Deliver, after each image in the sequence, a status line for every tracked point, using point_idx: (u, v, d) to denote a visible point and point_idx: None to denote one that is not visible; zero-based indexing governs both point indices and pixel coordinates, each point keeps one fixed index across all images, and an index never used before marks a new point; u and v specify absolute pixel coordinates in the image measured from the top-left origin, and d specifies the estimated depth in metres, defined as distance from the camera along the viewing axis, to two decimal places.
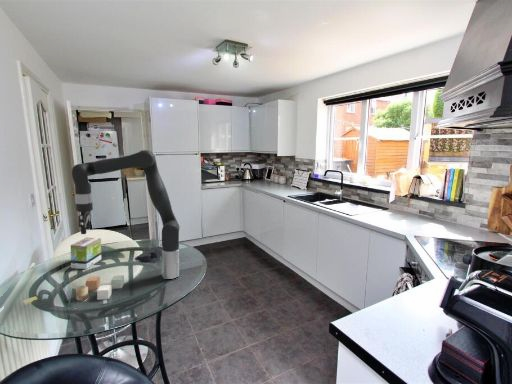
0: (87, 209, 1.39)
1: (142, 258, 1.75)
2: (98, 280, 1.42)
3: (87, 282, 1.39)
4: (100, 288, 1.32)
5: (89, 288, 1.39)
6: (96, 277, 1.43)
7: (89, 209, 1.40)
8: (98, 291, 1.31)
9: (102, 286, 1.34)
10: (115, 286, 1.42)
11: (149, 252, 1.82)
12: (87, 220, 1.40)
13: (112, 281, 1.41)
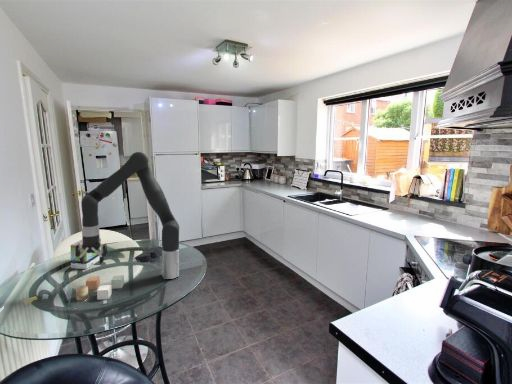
0: None
1: (141, 258, 1.75)
2: (98, 280, 1.42)
3: (87, 282, 1.39)
4: (100, 288, 1.32)
5: (89, 288, 1.39)
6: (96, 277, 1.43)
7: None
8: (98, 291, 1.31)
9: (102, 286, 1.34)
10: (115, 286, 1.42)
11: (149, 252, 1.82)
12: None
13: (112, 281, 1.41)
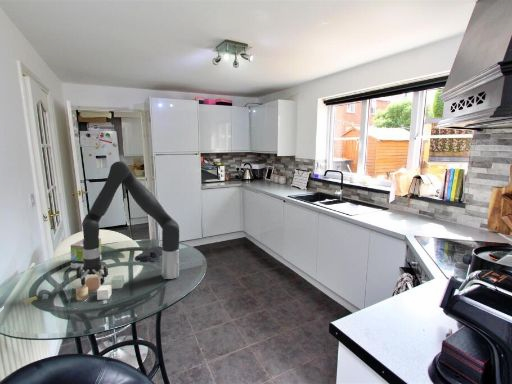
0: None
1: (141, 258, 1.75)
2: (98, 280, 1.42)
3: (87, 282, 1.39)
4: (100, 288, 1.32)
5: (89, 288, 1.39)
6: (96, 277, 1.43)
7: None
8: (98, 291, 1.31)
9: (102, 286, 1.34)
10: (115, 286, 1.42)
11: (148, 252, 1.82)
12: None
13: (112, 281, 1.41)
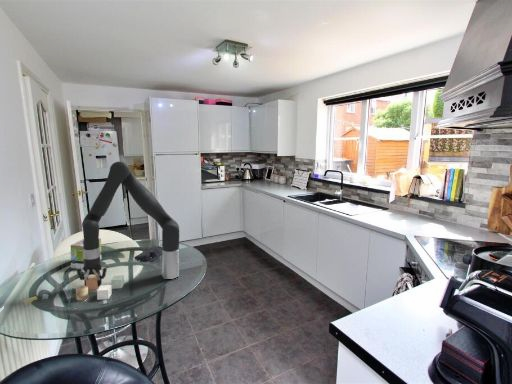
0: None
1: (141, 257, 1.76)
2: None
3: (87, 282, 1.39)
4: (100, 288, 1.32)
5: (89, 288, 1.39)
6: (96, 277, 1.43)
7: None
8: (98, 291, 1.31)
9: (102, 286, 1.34)
10: (115, 286, 1.42)
11: (148, 252, 1.83)
12: None
13: (112, 281, 1.41)
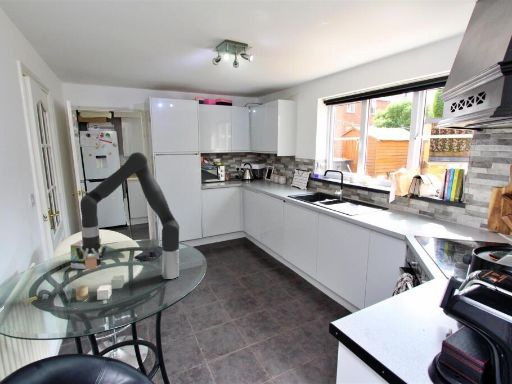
0: None
1: (140, 257, 1.76)
2: None
3: (86, 261, 1.36)
4: (100, 288, 1.32)
5: (88, 267, 1.37)
6: (95, 256, 1.40)
7: None
8: (98, 291, 1.31)
9: (102, 286, 1.34)
10: (115, 286, 1.42)
11: (148, 251, 1.83)
12: None
13: (112, 281, 1.41)
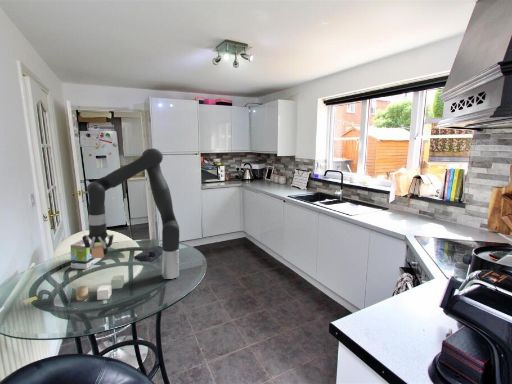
0: None
1: (140, 257, 1.76)
2: None
3: (93, 250, 1.32)
4: (100, 288, 1.32)
5: (95, 256, 1.33)
6: (102, 245, 1.36)
7: None
8: (98, 291, 1.31)
9: (102, 286, 1.34)
10: (115, 286, 1.42)
11: (148, 251, 1.83)
12: None
13: (112, 281, 1.41)
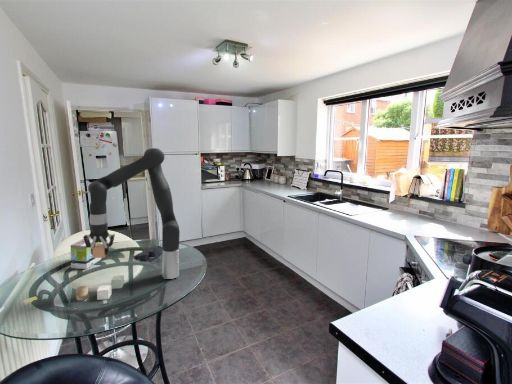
0: None
1: (140, 257, 1.76)
2: None
3: (94, 249, 1.32)
4: (100, 288, 1.32)
5: (96, 256, 1.32)
6: (103, 245, 1.36)
7: None
8: (98, 291, 1.31)
9: (102, 286, 1.34)
10: (115, 286, 1.42)
11: (147, 251, 1.83)
12: None
13: (112, 281, 1.41)
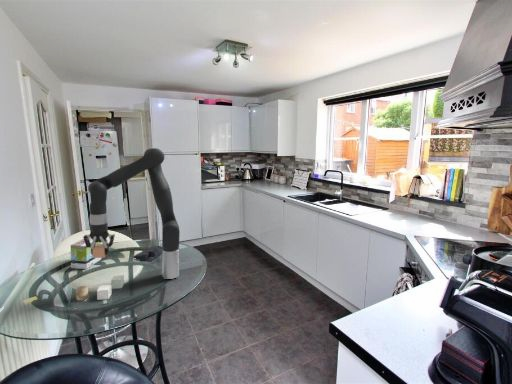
0: None
1: (139, 257, 1.77)
2: None
3: (94, 249, 1.32)
4: (100, 288, 1.32)
5: (96, 256, 1.32)
6: (103, 245, 1.36)
7: None
8: (98, 291, 1.31)
9: (102, 286, 1.34)
10: (115, 286, 1.42)
11: (147, 251, 1.84)
12: None
13: (112, 281, 1.41)
